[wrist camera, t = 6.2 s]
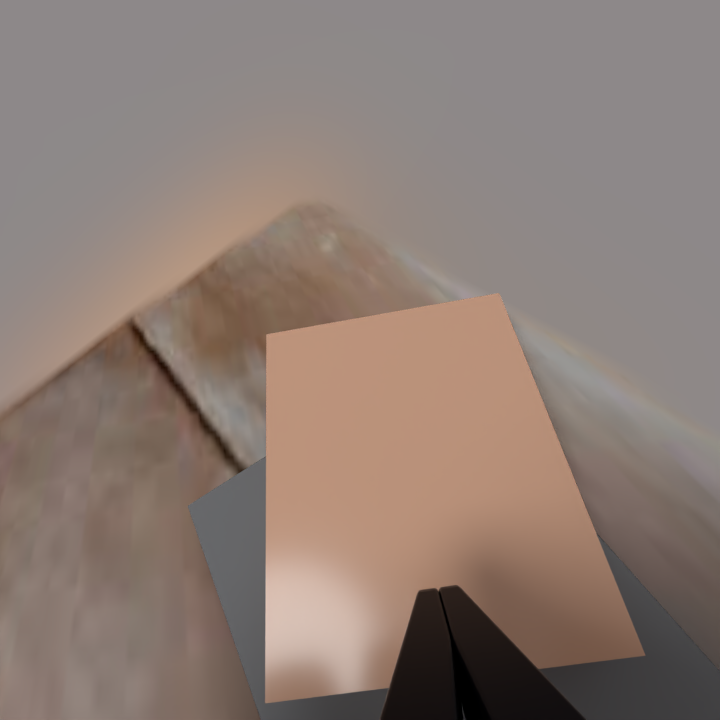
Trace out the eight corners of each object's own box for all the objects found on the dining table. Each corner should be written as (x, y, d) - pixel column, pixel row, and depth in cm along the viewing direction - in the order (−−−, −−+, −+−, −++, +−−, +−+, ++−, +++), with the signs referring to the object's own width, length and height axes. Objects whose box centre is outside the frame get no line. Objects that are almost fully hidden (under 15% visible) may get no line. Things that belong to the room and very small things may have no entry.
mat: (756, 719, 10) (768, 725, 10) (395, 1088, 8) (394, 1111, 8) (432, 354, 17) (433, 350, 17) (192, 507, 15) (187, 505, 15)
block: (645, 655, 9) (499, 293, 15) (265, 703, 10) (266, 334, 16) (601, 637, 11) (488, 326, 17) (291, 677, 12) (284, 361, 18)
